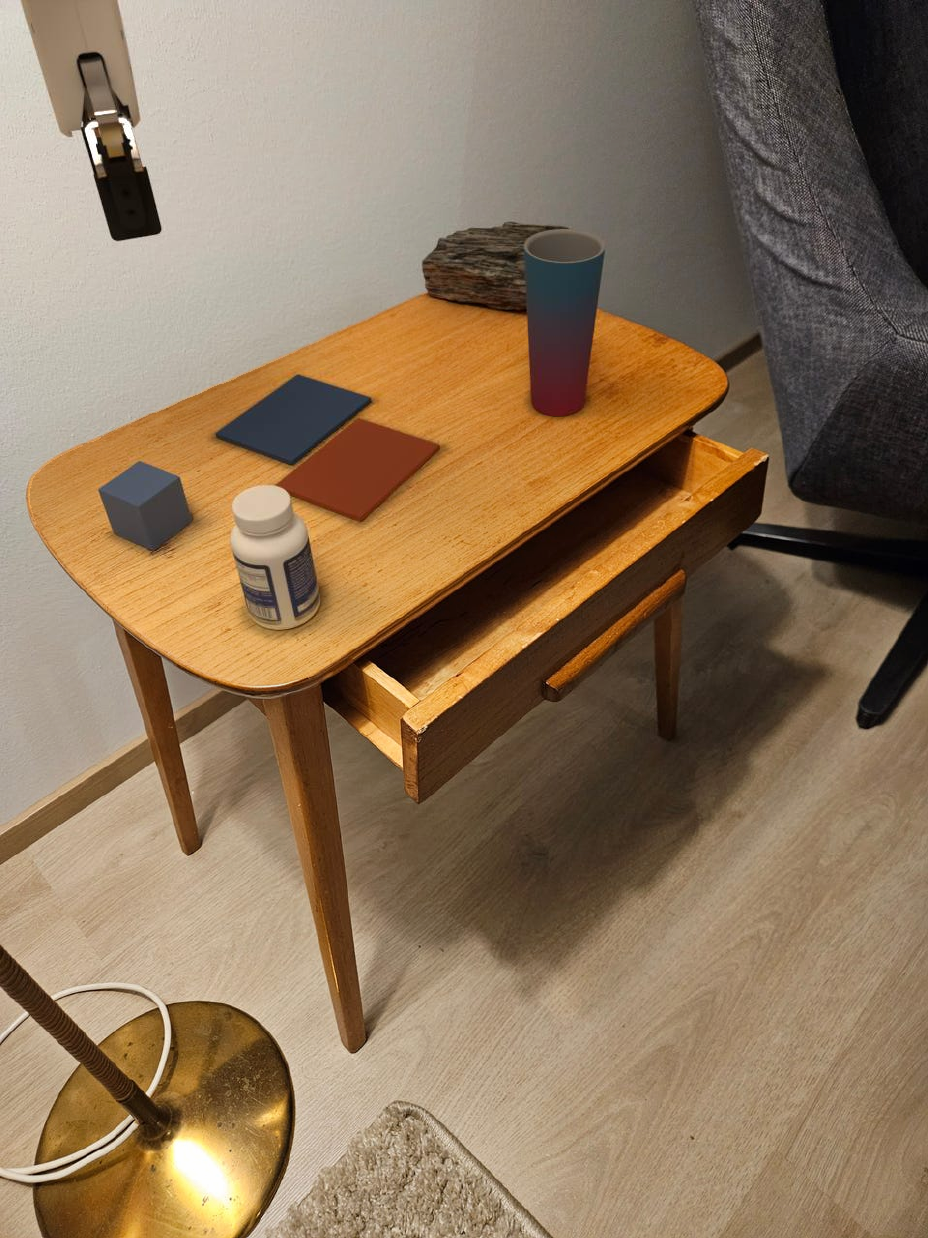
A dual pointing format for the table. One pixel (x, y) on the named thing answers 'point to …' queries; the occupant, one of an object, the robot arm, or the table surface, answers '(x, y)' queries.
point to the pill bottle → (273, 558)
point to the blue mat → (293, 419)
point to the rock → (482, 265)
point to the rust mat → (358, 469)
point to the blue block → (146, 505)
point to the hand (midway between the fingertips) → (128, 208)
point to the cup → (561, 315)
